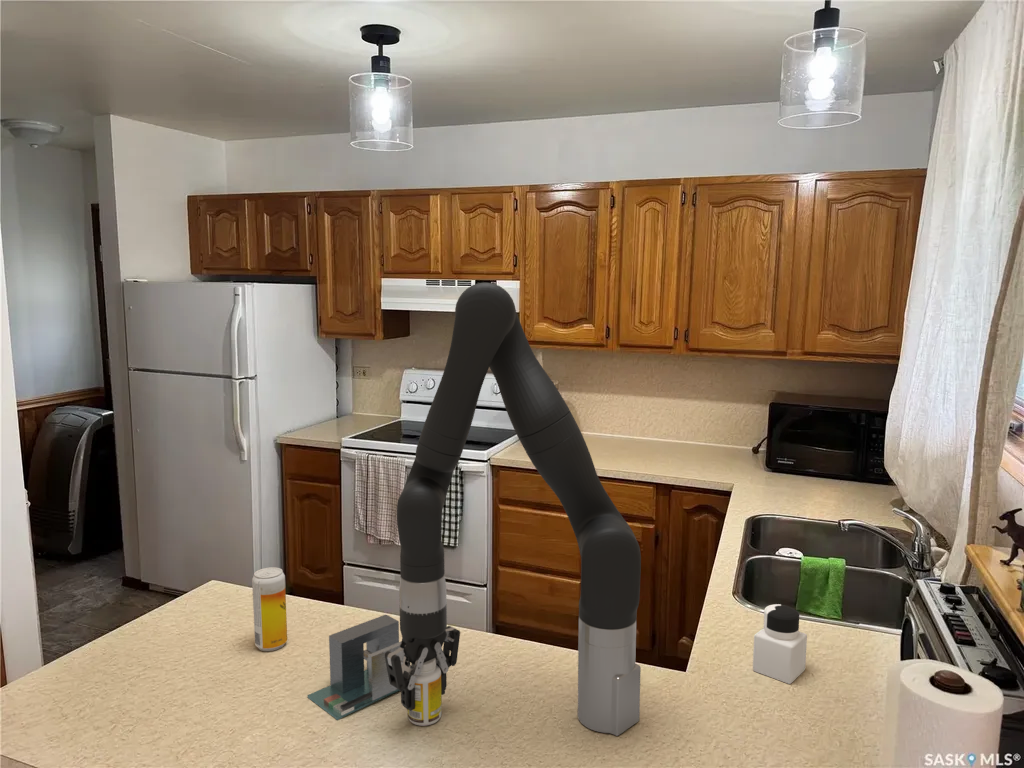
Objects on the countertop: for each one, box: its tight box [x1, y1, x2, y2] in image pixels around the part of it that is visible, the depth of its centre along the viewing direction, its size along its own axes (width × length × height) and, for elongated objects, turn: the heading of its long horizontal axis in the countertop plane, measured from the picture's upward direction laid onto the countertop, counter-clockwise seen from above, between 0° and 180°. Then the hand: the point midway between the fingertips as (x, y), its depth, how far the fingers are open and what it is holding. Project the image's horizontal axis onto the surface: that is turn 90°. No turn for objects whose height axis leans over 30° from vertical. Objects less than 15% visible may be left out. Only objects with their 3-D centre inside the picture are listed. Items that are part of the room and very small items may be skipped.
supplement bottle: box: [407, 658, 443, 727], centre depth 117 cm, size 6×6×10 cm
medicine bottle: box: [752, 603, 808, 685], centre depth 132 cm, size 7×7×12 cm
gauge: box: [306, 614, 401, 721], centre depth 126 cm, size 10×18×10 cm, turn 135°
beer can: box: [251, 566, 288, 652], centre depth 142 cm, size 6×6×15 cm
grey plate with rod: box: [340, 641, 404, 710], centre depth 125 cm, size 8×14×8 cm, turn 135°
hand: (424, 700), depth 118 cm, fingers closed on supplement bottle, 5 cm apart
